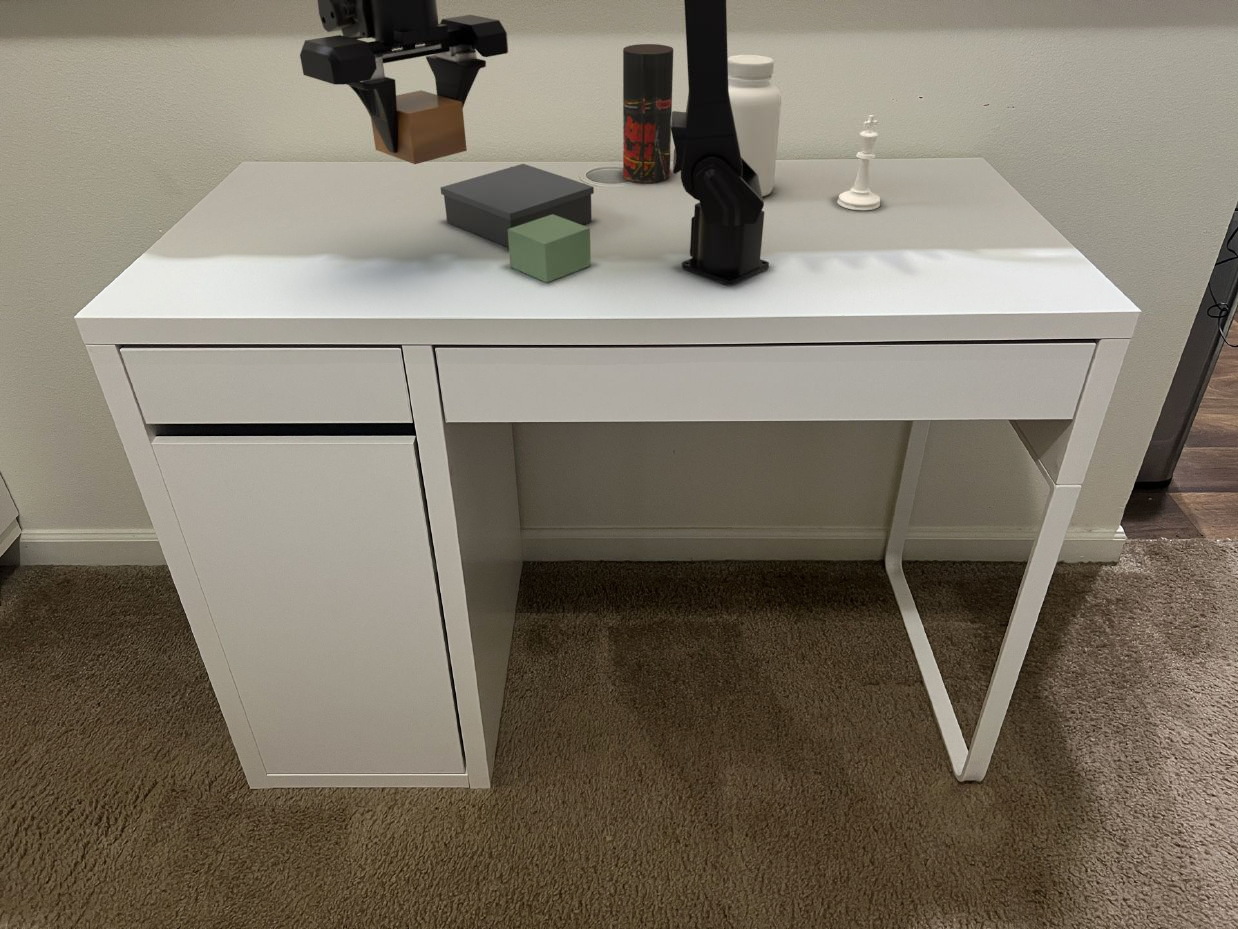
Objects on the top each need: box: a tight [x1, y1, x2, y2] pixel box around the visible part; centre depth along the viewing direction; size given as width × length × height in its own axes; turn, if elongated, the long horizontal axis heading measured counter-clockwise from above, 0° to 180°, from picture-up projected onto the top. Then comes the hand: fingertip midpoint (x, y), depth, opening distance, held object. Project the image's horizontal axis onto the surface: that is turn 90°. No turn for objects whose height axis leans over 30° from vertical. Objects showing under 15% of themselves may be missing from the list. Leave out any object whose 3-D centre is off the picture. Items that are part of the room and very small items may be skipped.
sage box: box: [508, 214, 592, 284], centre depth 92 cm, size 6×6×4 cm
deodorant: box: [622, 43, 674, 184], centre depth 113 cm, size 6×6×15 cm
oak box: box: [370, 89, 468, 165], centre depth 87 cm, size 6×6×4 cm
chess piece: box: [837, 114, 881, 211], centre depth 106 cm, size 5×5×10 cm
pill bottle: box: [728, 54, 782, 198], centre depth 108 cm, size 8×8×15 cm
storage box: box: [440, 163, 595, 249], centre depth 103 cm, size 12×12×4 cm
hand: (421, 145), depth 88 cm, fingers closed on oak box, 6 cm apart
